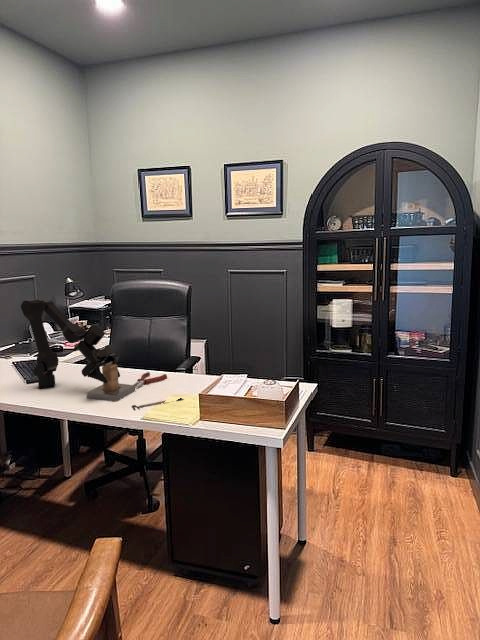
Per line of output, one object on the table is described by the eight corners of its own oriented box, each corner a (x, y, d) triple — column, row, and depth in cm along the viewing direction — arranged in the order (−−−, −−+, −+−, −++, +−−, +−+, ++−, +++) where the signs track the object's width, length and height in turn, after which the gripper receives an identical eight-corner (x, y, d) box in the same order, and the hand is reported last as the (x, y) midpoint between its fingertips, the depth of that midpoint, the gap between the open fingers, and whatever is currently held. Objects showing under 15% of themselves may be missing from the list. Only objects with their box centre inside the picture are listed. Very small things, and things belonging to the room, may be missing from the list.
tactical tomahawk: (135, 415, 171) (135, 412, 171) (131, 408, 177) (131, 405, 177) (187, 404, 180) (187, 402, 180) (182, 398, 186) (182, 395, 186)
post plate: (87, 397, 188) (86, 392, 187) (107, 387, 201) (107, 382, 200) (115, 401, 183) (115, 395, 182) (135, 390, 196) (134, 385, 195)
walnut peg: (104, 395, 190) (102, 366, 188) (110, 392, 194) (108, 363, 192) (112, 396, 189) (111, 367, 187) (119, 393, 193) (117, 364, 191)
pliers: (121, 388, 200) (121, 383, 200) (147, 376, 218) (147, 371, 218) (143, 391, 196) (143, 386, 195) (168, 378, 214) (168, 373, 214)
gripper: (85, 344, 180) (110, 373, 178) (113, 335, 198) (136, 361, 196) (70, 362, 184) (95, 391, 183) (99, 351, 202) (122, 377, 200)
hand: (113, 379), depth 190 cm, fingers open, 8 cm apart
